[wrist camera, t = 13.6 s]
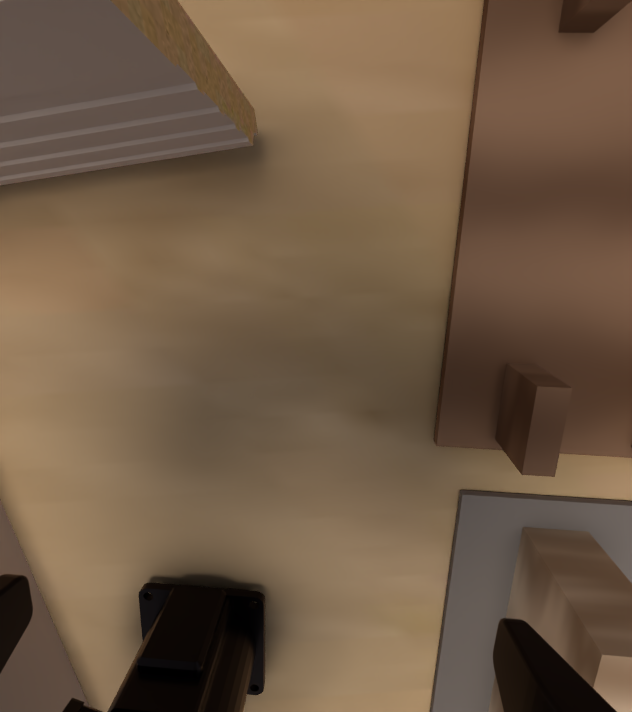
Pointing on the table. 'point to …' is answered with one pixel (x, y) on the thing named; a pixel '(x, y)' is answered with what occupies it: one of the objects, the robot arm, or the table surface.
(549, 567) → the plywood sheet
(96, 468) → the table surface
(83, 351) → the table surface
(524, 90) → the offcut rack
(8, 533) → the crown molding
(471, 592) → the slate mat
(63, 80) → the baseboard
